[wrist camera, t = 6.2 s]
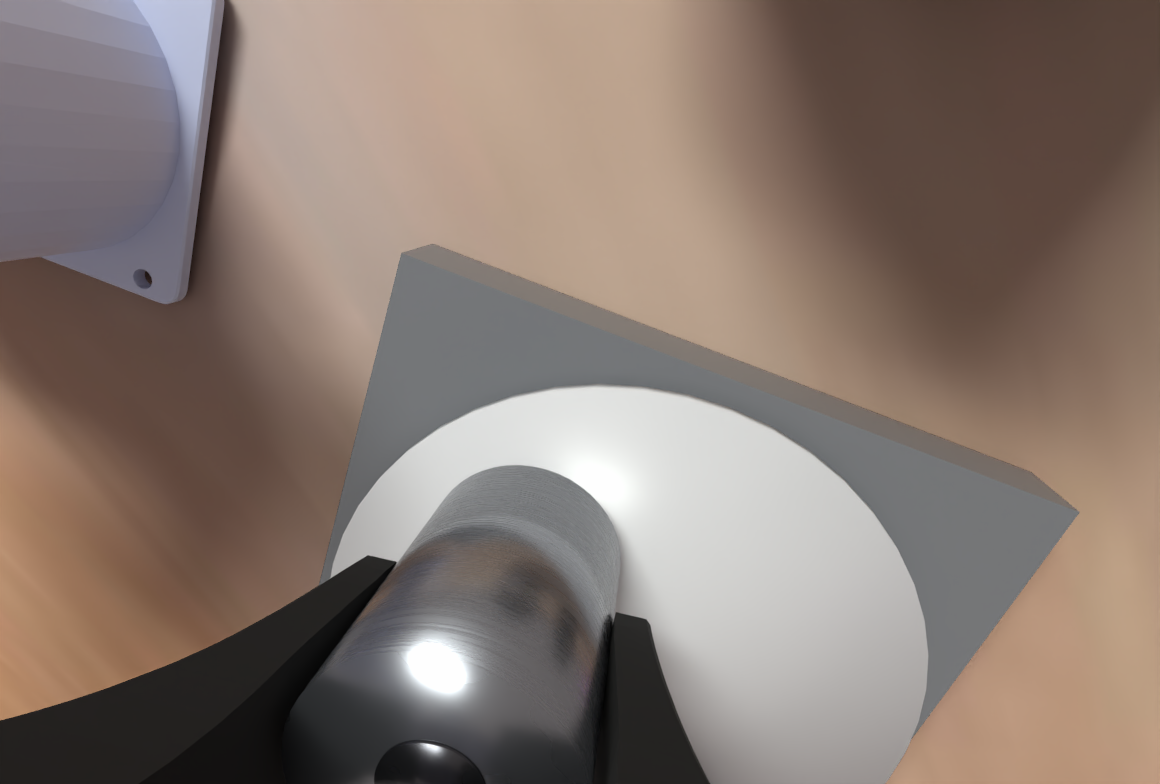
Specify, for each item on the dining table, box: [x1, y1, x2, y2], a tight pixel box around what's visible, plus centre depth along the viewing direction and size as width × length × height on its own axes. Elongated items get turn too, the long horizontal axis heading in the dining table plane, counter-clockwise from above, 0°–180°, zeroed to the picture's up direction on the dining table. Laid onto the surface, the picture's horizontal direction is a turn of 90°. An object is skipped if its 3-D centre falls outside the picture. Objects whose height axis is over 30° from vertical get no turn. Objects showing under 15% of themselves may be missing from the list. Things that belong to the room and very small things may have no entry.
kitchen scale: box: [319, 244, 1079, 784], centre depth 17 cm, size 16×20×5 cm
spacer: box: [281, 465, 621, 784], centre depth 12 cm, size 4×4×6 cm
